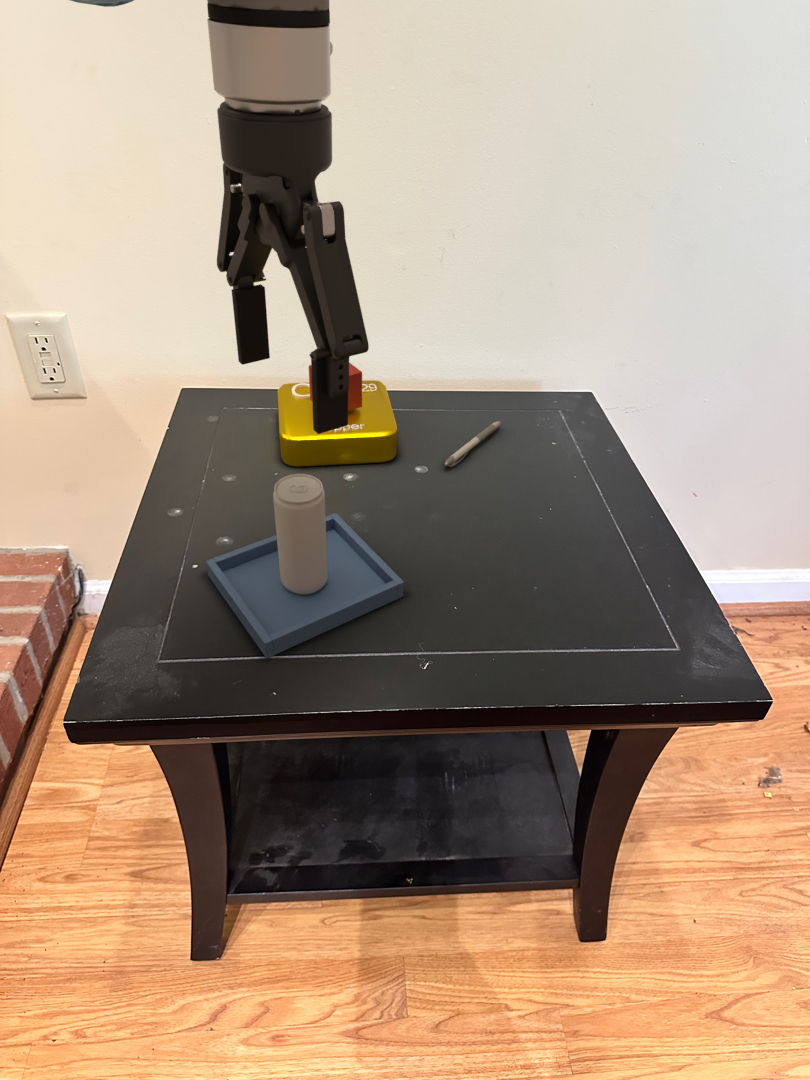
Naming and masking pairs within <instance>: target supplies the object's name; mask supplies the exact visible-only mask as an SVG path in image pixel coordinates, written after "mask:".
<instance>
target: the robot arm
mask: <svg viewBox="0 0 810 1080" xmlns="http://www.w3.org/2000/svg"><path fill="white" fill-rule="evenodd" d="M69 1H71V2H74V3H76V4H77V3H78V4H86V5H92V6H98V7H104V8H105V7H108V8H110V7H113V8H114V7H119V6H124V5H126V4H129V3H132V2H134V1H135V0H69ZM206 1H207V4H206V6H207V7H206V8H207V17H208V18H207V30H208V41H209V50H210V51H209V52H210V60H211V70H212V71H211V72H212V81H213V90H214V91H215V93H216V94H218V96H220V97H223V98H224V101H223V102H220V105H219V107H217V110H216V113H217V124H218V132H219V134H218V135H219V143H220V154H221V160H222V162H223V163H222V177H223V199H222V205H221V206H222V209H221V216H220V227H219V234H218V245H217V253H216V267H217V269H218V271H219V272H220V273H225V272H226V275H225V276H226V282H227V284H228V286H229V287H232V289H231V298H232V309H233V318H234V328H235V329H234V330H235V338H236V339H235V340H236V347H237V348H236V349H237V359H238V362H239V363H240V364H241V365H248V364H252V363H256V362H260V361H264V360H269V359H270V358H271V356H270V342H269V341H270V340H269V328H268V314H267V313H268V312H267V300H266V286H264V285H263V284H255V283H259V282H264V281H267V278H266V275H265V273H264V269H265V266H266V264H267V262H268V259H269V258H270V257H269V256H270V254H271V252H272V250H273V252H275V253H276V255H277V257H278V260H279V263H280V265H281V266H283V267H284V268H286V269H288V271H289V272H290V275H291V278H292V281H293V284H294V287H295V290H296V293H297V295H298V298H299V301H300V303H301V306H302V310H303V313H304V315H305V318H306V321H307V323H308V327H309V329H310V332H311V335H312V338H313V340H314V341H313V342H314V343H315V347H316V348H315V349H314V350H313V351H311V352H310V353H309V357H310V365H311V370H312V401H313V430H314V431H315V432H316V433H317V434H321V433H324V432H327V431H331V430H334V429H337V428H341V427H344V426H347V425H348V391H349V363H350V357H352V356H358V355H361V354H365V353H368V351H369V349H370V348H369V347H370V345H369V340H368V335H367V331H366V326H365V322H364V318H363V313H362V308H361V303H360V299H359V298H360V297H359V293H358V289H357V286H356V280H355V276H354V272H353V267H352V262H351V258H350V254H349V249H348V243H347V240H346V239H347V238H346V224H345V209H344V206H343V204H342V202H341V201H339V200H336V201H329V202H320V201H319V196H318V193H317V185H316V179H318V176H319V175H320V174H321V173H323V172H326V171H327V170H328V169H329V168H330V167H331V165H332V163H333V113H332V112H331V111H330V109H329V106H327V105H325V104H323V103H322V102H324V101H326V100H327V99H328V98H329V96H331V94H332V88H331V87H332V85H331V84H332V83H331V56H332V54H333V53H334V52H333V51H334V49H333V48H334V47H333V43H332V41H331V32H330V31H331V29H330V24H331V11H330V0H206ZM231 253H232V254H231Z"/></svg>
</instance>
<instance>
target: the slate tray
mask: <svg viewBox="0 0 810 1080" xmlns="http://www.w3.org/2000/svg"><path fill="white" fill-rule="evenodd" d="M325 518H326V546H327V575H328V579H327V582H326V584H325V585H324V586H323V587H322V588H321V589H320V590H318V591H317V592H315V593H313V594H308V595H300V594H296V593H293V592H291V591H289V590H288V589H287V588H285V587H284V585H283V584H282V582H281V577H280V566H279V555H278V544H277V534H274V535H272V536H269V537H266V538H264V539H261V540H258V541H255V542H253V543H250V544H248V545H245V546H242V547H239V548H237V549H234V550H231V551H228V552H225V553H224V554H221V555H217V556H215V557H213V558H210V559H207V560H205V565H206V571H207V576H208V578H209V580H211V582H212V583H213V585H214V586H215V588H216V589H217V590H218V592H219V593H220V595H221V596H222V597H223V599H224V600H225V602H226V604H227V605H228V606H229V607H230V609H231V610H232V611H233V613H234V615H235V616H236V617H237V619H238V620H239V622H240V623H241V625H242V626H243V628H244V629H245V630H246V632H247V633H248V634H249V636H250V638H251V639H252V640H253V642H254V643H255V644H256V646H257V647H258V649H259V650H260V651H261V653H262V654H263V656H264V657H265V658H266V659H269V658H271V657H273V656H275V655H277V654H280V653H282V652H284V651H287V650H289V649H291V648H292V647H295V646H298V645H300V644H302V643H304V642H306V641H309V640H311V639H312V638H315V637H317V636H319V635H322V634H324V633H327V632H328V631H330V630H333V629H334V628H337V627H339V626H341V625H343V624H347V623H348V622H350V621H353V620H354V619H357V618H359V617H362V616H363V615H366V614H368V613H370V612H372V611H375V610H377V609H379V608H381V607H384V606H386V605H388V604H390V603H392V602H394V601H397V600H399V599H401V598H403V597H404V592H405V591H404V589H405V588H404V587H405V581H404V580H403V579H402V578H401V577H400V576H399V575H398V574H397V573H396V572H395V571H394V570H393V569H392V568H391V567H390V565H388V564H387V563H386V562H385V561H384V559H382V558H381V557H380V555H378V554H377V553H376V552H375V551H374V550H373V548H371V547H370V545H368V544H367V542H366V541H365V540H364V539H363V538H362V537H360V535H358V534H357V532H355V530H354V529H352V527H351V526H349V525H348V524H347V522H346V521H345V520H344V519H343V518H342V517H341V516H340V515H339V514H338V513H337V512H334V513H331V514H329V515H325Z"/></svg>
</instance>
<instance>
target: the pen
mask: <svg viewBox="0 0 810 1080" xmlns="http://www.w3.org/2000/svg"><path fill="white" fill-rule="evenodd" d="M500 425H501V421H499V420H498V421H495V422H493V423H491V424H489V425H488V426H487V427H486V428H484V429H483V430H482V431H480V432H479V433H478V434H477V435H475V436H474V437H472V439H471V440H470V441H468V442H466V443H465V444H464V445H463V446H462V447H460V448H459V449H458V450H456V451H455V452H454V453H453V454H452V455H450V456H449V457H447V459H446V460H445V461H444V463H443V464H444V466H445V467H449V468H453V467H455V466H456V465H458V464H459V463H460V462H462V461H463V459H464V458H465V457H466V456H467V455H468V453H469V452H470V450H472V449H473V448H475V446H477V445H479V444H480V443H481V442H482V441H484V440H485V439H486V438H488V437H489V436H490V435H491V434H493V433H494V432H495V431H496V430H497V429H498V428H499V427H500Z"/></svg>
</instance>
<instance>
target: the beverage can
mask: <svg viewBox="0 0 810 1080" xmlns="http://www.w3.org/2000/svg"><path fill="white" fill-rule="evenodd" d="M272 499H273V512H274V520H275V521H274V522H275V531H276V532H275V533H276V535H277V544H278V555H279V566H280V577H281V582H282V584H283V585H284V587H285V588H287V589H288V590H289V591H291V592H293V593H296V594H300V595H308V594H313V593H315V592H317V591H318V590H320V589H321V588H322V587H323V586H324V585H325V584H326V582H327V579H328V575H327V546H326V518H325V517H326V494H325V489H324V484H323V482H322V481H321V480H320V479H319V478H317V477H315V476H314V475H311V474H306V473H294V474H293V473H292V474H289V475H286V476H283V477H282V478H280V479H278V480H277V481H276V482H275V484H274V487H273V493H272Z"/></svg>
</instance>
